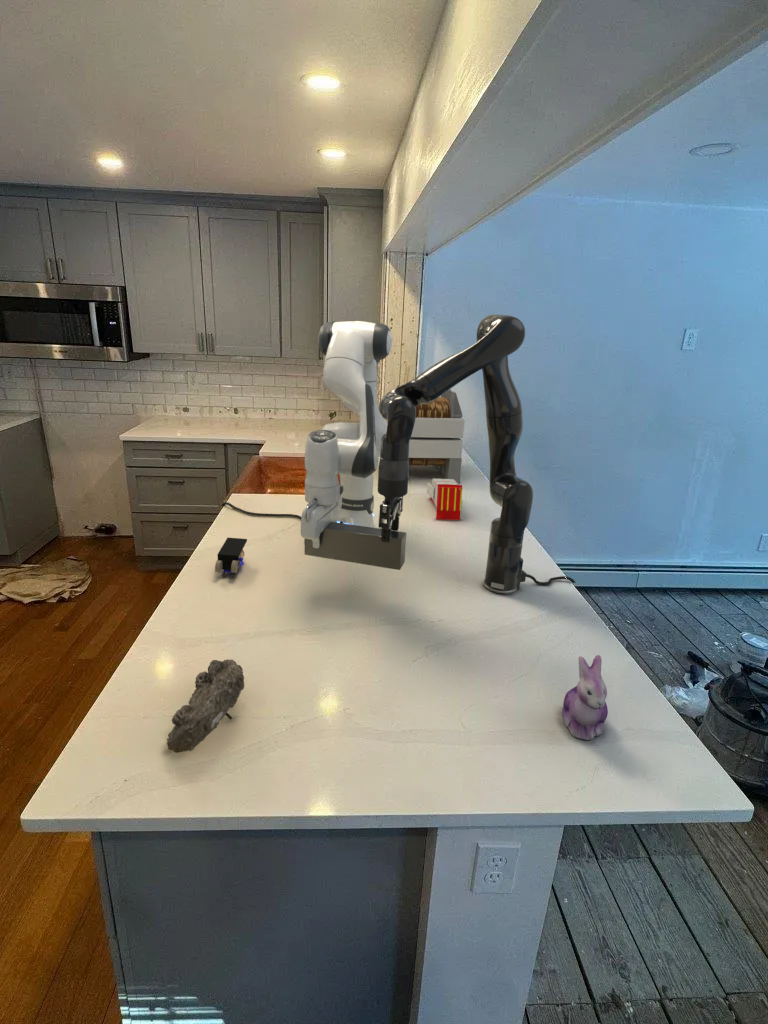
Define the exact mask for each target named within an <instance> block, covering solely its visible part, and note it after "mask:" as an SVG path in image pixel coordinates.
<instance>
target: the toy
mask: <svg viewBox="0 0 768 1024" xmlns="http://www.w3.org/2000/svg"><path fill="white" fill-rule="evenodd" d="M431 480H432V481H431V483H430V482H427V487H426V493H427V495H429V500H430V501H431V502H432V503H433V504H434V506H435V508H436V510H435V511H436V513H435V520H442V521H443V520H445V521H447V520H448V521H461V511H462V502H463V501H462V500H463V499H462V498H463V484H459V483H457V482H456V481H455V480H454V479H445V478H432V479H431Z"/></svg>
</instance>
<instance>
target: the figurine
mask: <svg viewBox="0 0 768 1024" xmlns="http://www.w3.org/2000/svg"><path fill="white" fill-rule="evenodd" d="M602 663H603V660H602V656H601V655H600V654H597V655H595V657H594V658H593V660H592V663H591V664H590V665H589V664H588V662H587V660H586V659H585V658H584V657H583V656H578V674H579V680H578V682H577V685H576V686H574V687H572V688H571V689H569V690H568V691H567V692H566V693H565V696H564V699H563V703H562V704H563V706H562V710H561V714H562V715H561V716H562V721H563V724H564V725H565V727H566V728H567V729H568V730H569V732H570V734H571V735H572V736H573V737H574V738H577V739H581V740H584V741H585V740H587V741H589V740H590V741H591V740H593V739H594V737H599V736H600V735H601V734H602V732H603V729H604V726H605V725H604V724H605V722H606V721H607V718H608V714H609V711H608V710H609V709H608V705H607V701H606V700H607V696H608V690H607V686H606V683H605V680H604V679H603V677H602Z"/></svg>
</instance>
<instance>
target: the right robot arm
mask: <svg viewBox="0 0 768 1024" xmlns="http://www.w3.org/2000/svg"><path fill="white" fill-rule="evenodd" d="M525 338H526V327H525V324H524V322H523V321H522V320H521V319H519V318H518V317H516V316H513V315H507V314H488V315H486V316H484V317H483V318H482V319H481V321H480V322H479V324H478V326H477V329H476V342H474V343H473V344H471V345H470V346H468V347H466V348H465V349H462V350H461V351H458V352H457V353H454V354H452V355H449V356H448V357H446V358H443V359H441V360H440V361H438V362H436V363H434V364H433V365H431V366H430V367H428V368H426V370H424V371H423V372H422V373H420V374H419V375H417V376H416V377H415V378H413V379H411V380H408V382H405V383H403V384H401V385H400V386H399V387H397V386H396V387H394V388H393V389H391V390H389V392H387V393H385V395H384V396H383V397H382V398H381V400H380V402H379V403H378V409H379V412H380V414H381V416H382V417H383V419H384V420H385V421H386V420H388V425H387V431H386V434H384V435H383V436H382V439H381V452H380V457H379V461H378V471H377V472H378V473H377V493H378V494H379V495H381V496H383V497H384V500H382V503H380V504H379V515H378V528H379V529H381V541H382V542H389V541H390V534H391V530H392V531H399V528H400V517H401V515H402V512H403V511H404V510H403V507H404V505H403V504H404V497H405V496H406V495H408V491H409V476H410V475H409V473H410V466H409V442H410V438H411V435H412V432H413V428H414V424H415V419H416V409H415V407H417V406H418V405H421V404H428V403H431V402H433V401H434V400H436V399H437V398H438V397H441V395H443V394H444V393H445V392H447V391H448V390H452V389H453V388H454V387H455V386H457V385H458V384H460V383H461V382H463V381H464V380H466V379H467V378H469V377H470V376H473V375H474V374H475V373H477V372H479V371H482V379H483V392H484V403H485V419H486V421H485V422H486V428H487V429H486V430H487V437H488V439H487V440H488V449H489V450H488V451H489V452H488V453H489V494H490V498H491V499H492V501H493V502H494V503H495V504H496V505H498V506H500V507H501V511H500V517H496V518H494V519H493V520H491V524H490V532H489V539H488V550H487V556H486V557H487V558H486V566H485V567H486V568H485V574H484V580H483V587H484V588H485V589H486V590H487V591H489V592H492V593H495V594H500V595H510V594H513V593H515V592H516V591H518V590H520V587H521V583H526V579H527V578H528V579H530V580H532V581H533V582H534V584H536V585H539V586H549V585H551V583H552V582H553V581H559V580H567V581H569V582H571V583H572V584H576V581H575V579H574V578H572V577H570V576H565V575H563V576H561V575H560V576H553V577H550V578H549V579H548V581H539V580H537V578H536V577H534V576H533V575H531V574H528V573H527V572H526V571H524V570H523V567H524V566H523V565H524V559H523V558H522V551H523V544H524V543H523V542H524V537H525V536H524V535H525V531H526V528H527V527H528V525H529V522H530V517H531V513H532V507H533V500H534V490H533V487H532V485H531V483H529V482H528V481H527V480H524V479H523V478H521V477H520V476H517V472H516V471H517V470H516V463H515V453H516V449H517V447H518V445H519V442H520V440H521V437H522V434H523V431H524V419H523V407H522V401H521V397H520V394H519V392H518V390H517V387H516V384H515V382H514V380H513V378H512V374H511V372H510V366H509V356H510V355H512V354H513V353H515V352H517V351H518V350H519V349H520V348H521V347H522V345H523V343H524V341H525ZM565 577H566V578H567V579H566V578H565Z"/></svg>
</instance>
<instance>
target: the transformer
mask: <svg viewBox="0 0 768 1024" xmlns="http://www.w3.org/2000/svg"><path fill="white" fill-rule="evenodd" d="M399 386H401V385H399V384H398V385H397V386H396V388H397V387H399ZM415 409H416V419H415V424H414V428H413V432H412V435H411V438H410V442H409V467H410V466H411V467H412V466H413V467H415V466H416V467H417V466H418V467H436V468H437V470H438V469H439V473H440V474H441V475H443V479H454V480H455V481H456V482H457V483H458V484H459V483H461V472H462V461H463V460H462V453H463V442H464V441H463V440H462V439H463V438H464V431H465V430H464V429H465V419H464V418H463V411H462V408H461V405H460V402H459V398H458V395H457V392H455V391H453V390H452V389H450V390H448V391H447V392H445V393H444V394H443V395H441V396H440V397H438V398H437V399H436V400H434V401H433V402H431V403H428V404H421V405H418V406H417V407H415ZM385 421H386V423H387V424H388V420H386V419H385Z"/></svg>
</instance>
